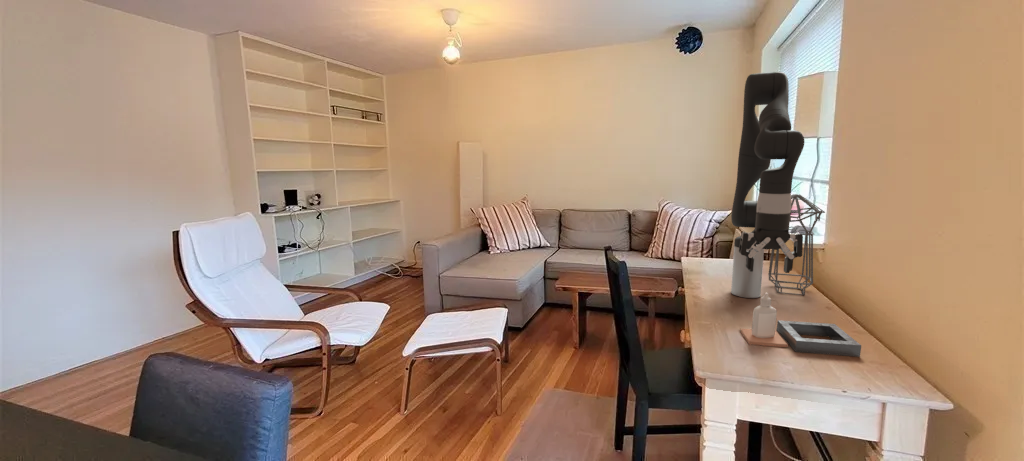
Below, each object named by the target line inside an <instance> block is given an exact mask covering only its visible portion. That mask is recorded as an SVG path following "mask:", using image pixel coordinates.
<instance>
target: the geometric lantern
mask: <svg viewBox="0 0 1024 461" xmlns="http://www.w3.org/2000/svg"><path fill="white" fill-rule="evenodd" d="M799 200H800V201H802V202H803V203H804V204H806V205H807V206H808V207H804V208H801V206H800V202H799ZM794 203H795V204H796V209H793V206H794ZM804 210H805V212H801V211H804ZM811 210H813V211H811ZM825 213H826V211H825V210H823V209H821V207H819V206H817V205H815V203H813V202H811V201H810V200H808V199H807V198H805V197H804V196H803V195H801V194H798V193H797V194H796V193H795V194H794V193H793V194H791V212H790V223H792V222H793V223H794V222H798V223H799V224H800V225H801V226H802V228H803V229H797V228H796V229H794V228H793V229H792V228H791V229H790V228H789V231H796V232H797V231H799V232H800V231H801V232H802V231H804V233H801V234H802V235H803V236H804V242H803V243H804V244H803V253H802V256H803V257H802V269H801V274H793V273H791V274H790V273H779V261H780V260H779V256H780V249H778V250H773V249H771V253H770V260H769V268H768V281H770V282H771V283H772V284H774V288H775V290H776V292H777V293H778V294H786V295H787V294H788V295H796V296H804V295H806V289H808V288H809V287H810V286H811V285H813V284H814V235H815V233H814V232H813V229H814V228H815V225H816V223H818V222H820V221H821V215H822V214H825ZM792 214H797V216H795V215H794V216H793V215H792ZM804 215H806V216H804ZM802 216H804V217H802ZM812 216H813V217H814V221H813V223H812V225H811V228H810V229H807V228H806V226H805V224H804V222H803V220H805V219H808V218H810V217H812ZM794 233H795V232H789V234H794ZM775 251H776V252H775ZM774 256H775V258H774ZM774 259H775V260H774ZM773 263H774V269H773ZM772 271H773V272H772ZM804 273H805V275H804ZM773 275H774V277H773ZM778 276H788V277H789V276H791V277H792V276H793V277H800V279H799V281H789V280H788V281H787V280H778ZM803 277H804V278H805V280H803V282H801V281H802V279H803ZM774 278H775V279H774ZM808 281H810V282H808ZM781 283H783V284H794V285H796V287H794V286H793V287H792V286H784V285H783V286H782V285H781ZM783 289H794V290H800V291H801V293H795V292H794V293H792V292H783Z"/></svg>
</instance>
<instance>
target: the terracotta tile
mask: <svg viewBox="0 0 1024 461" xmlns="http://www.w3.org/2000/svg"><path fill="white" fill-rule="evenodd" d="M739 329H740V330H739V332H740V333H741V335H742V336H743V338H744V339H745V341H746V342H747V344H748V345H751V346H753V345H754V346H765V347H778V348H779V347H780V348H788V345H789V344H788V343H787V342H786V340H785V339H784V338H783V337H782V336H781V335H780V334H779V332H778V331H777V330H775V335H774V337H771V338H757V337H755V336H753V335H752V328H739Z"/></svg>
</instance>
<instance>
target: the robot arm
mask: <svg viewBox="0 0 1024 461" xmlns="http://www.w3.org/2000/svg"><path fill="white" fill-rule="evenodd" d="M789 91H790V87H789V78H788V75H787V74H786V73H785V72H783V71H770V72H756V73H750V74H749V75H747V77H746V80H745V84H744V90H743V92H744V93H743V95H744V96H743V110H742V111H743V115H742V127H741V128H742V129H741V136H740V143H739V150H738V151H739V152H738V158H737V159H738V161H737V174H736V182H735V183H736V184H735V192H734V196H733V202H732V208H731V219H730V220H731V224H732V225H733V226H734V227H738V228H753V230H752V231H750V232H746V231H741V233H740V236H736V238H734V241H733V242H734V243H733V244H734V245H733V260H732V273H731V274H732V275H731V288H730V292H731V294H732V295H734V296H737V297H740V298H746V299H755V298H759V297H760V298H761V293H762V292H761V291H762V279H763V270H764V256H765V255H764V254H765V250H766V251H767V250H768V251H769V250H772V249H773V250H774V251H777V250H778V249H779V250H780V251H781V252H782V253H783V254H784V255H785V257H784V259H783V260H784V262H783V272H784V274H790V271H791V272H792V270H793V265H794V259H796V258H801V257H802V256H803V251H804V244H803V243H804V242H803V241H804V240H803V239H804V237H803V236H804V235H802V234H803V233H800V232H797V231H795V232H793V233H794V234H789V233H790V230H789V229H790V223H791V222H790V212H791V210H792V209H791V203H792V199H791V195H792V188H793V187H792V186H793V178H794V172H795V168H796V166H797V164H798V161H799V159H800V157H801V154H802V153H803V149H804V146H805V137H804V135H803V133H802V132H801V131H799V130H792V123H791V119H790V116H789V101H790V100H789V99H790V98H789V93H790V92H789ZM756 106H764V108H763V109H762V110H761V112H760V114H759V118H758V116H757V113H756ZM771 160H784V161H783V163H782V164H781V165H780V166H777V167H775V168H773V167H772V168H770V166H771ZM758 181H759V191H758V197H757V200H746V198H747V196H748V194H749V192H750V190H751V189H752V188H753V186H754V185H756V183H757V182H758ZM790 239H791V242H793V251H791V250H790V248H789V246H788V245H786V244H787V242H789V240H790Z"/></svg>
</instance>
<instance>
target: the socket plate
mask: <svg viewBox="0 0 1024 461" xmlns="http://www.w3.org/2000/svg"><path fill="white" fill-rule="evenodd" d="M776 331H777V333H778V334H779V335H780V336H781V337H782V338H783V340H784V341H785V342H786V343H787V344H788V345H789V346H790V347H791V348H792V350H793V351H794V352H795V353H803V354H804V353H805V354H806V353H807V354H817V355H818V354H819V355H830V356H831V355H832V356H843V357H844V356H845V357H856V358H860V357H861V352H862V345H861V343H859V342H858V341H857V340H855V338H854V337H852V336H850V335H849V334H848V333H846V332H845V331H844V330H843V329H842V328H840V327H839V326H838V325H837V324H835V323H827V322H826V323H825V322H814V321H813V322H810V321H808V322H807V321H796V320H794V321H793V320H781V319H780V320H777V321H776ZM801 335H802V336H803V335H804V336H815V337H816V336H817V337H828V338H830V339H823V338H821V339H819V338H809V337H808V338H807V337H806V338H805V337H802V336H801Z"/></svg>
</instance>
